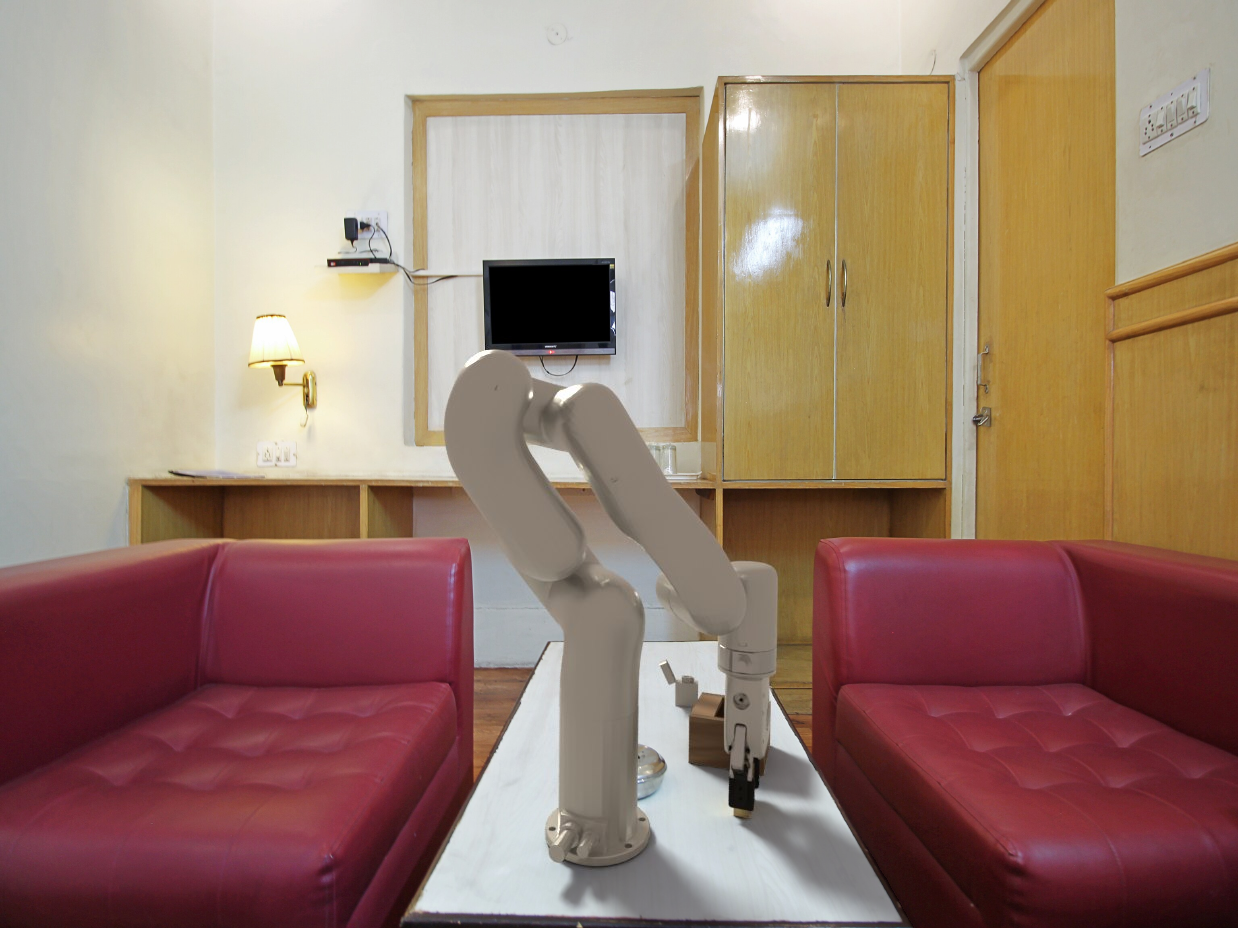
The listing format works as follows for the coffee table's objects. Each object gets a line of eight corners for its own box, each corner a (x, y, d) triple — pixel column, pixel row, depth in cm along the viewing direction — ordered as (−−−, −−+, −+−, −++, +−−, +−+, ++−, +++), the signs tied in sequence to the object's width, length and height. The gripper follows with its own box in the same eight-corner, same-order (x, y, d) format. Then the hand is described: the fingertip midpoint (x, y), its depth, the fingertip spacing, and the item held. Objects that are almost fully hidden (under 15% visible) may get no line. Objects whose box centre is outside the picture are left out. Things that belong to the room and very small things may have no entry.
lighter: (698, 703, 115) (698, 660, 115) (697, 707, 113) (698, 663, 113) (659, 701, 116) (660, 658, 116) (659, 704, 114) (659, 661, 114)
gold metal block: (749, 818, 78) (750, 779, 78) (733, 815, 79) (734, 776, 79) (754, 798, 83) (754, 761, 83) (738, 795, 83) (739, 758, 83)
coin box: (763, 775, 89) (764, 727, 89) (688, 762, 92) (689, 715, 92) (770, 745, 98) (770, 701, 98) (701, 734, 102) (702, 692, 102)
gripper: (770, 683, 71) (767, 840, 71) (781, 643, 87) (778, 771, 87) (705, 675, 74) (703, 827, 74) (728, 637, 90) (725, 762, 90)
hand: (744, 795), depth 81 cm, fingers closed on gold metal block, 4 cm apart
